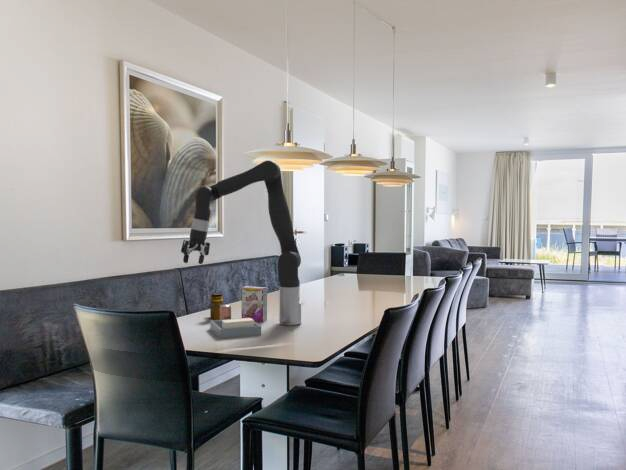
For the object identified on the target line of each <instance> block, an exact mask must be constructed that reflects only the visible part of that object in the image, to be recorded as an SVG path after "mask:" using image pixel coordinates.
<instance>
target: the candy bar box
mask: <svg viewBox="0 0 626 470" xmlns="http://www.w3.org/2000/svg"><path fill="white" fill-rule="evenodd" d="M241 318H252V319H253V320H254V322H256V323H259V322H260V323H264V322H267V321H268V287H265V286H263V287H262V286H253V285H252V286H251V285H245V286H242V287H241Z"/></svg>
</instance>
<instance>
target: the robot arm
mask: <svg viewBox="0 0 626 470" xmlns="http://www.w3.org/2000/svg"><path fill="white" fill-rule="evenodd" d="M281 173H282V171H281V168H280V165H278V164H277V162H274V161H272V160H270V159H269V160H264V161H262V162H261V163H259V164H257V165H256V166H254V167H252V168H250V169H248V170H246V171H244V172H241V173H238V174H236V175H233V176H230V177H227V178H224V179H222V180H219V181H217V182H216V184H213V185H210V186H200V187H199V188H198V189H197V191H196V193H195V210H194V215H193V219H192V223H191V228H190V233H189V240H187V239H183V241H182V245H181V249H180V253H181V254H183V261H182V262H183V263H184V264H188V262H189V257H190V254H191V253H193V252H194V251H195V252H196V251H197V252H198V253H199V256H198V264H200V265H202V264H203V263H204V259H205V257H206V256H209V253H210V248H211V247H210V246H211V244H210V242H207V241H206V240H207V236H208V231H209V226H210V225H209V224H210V217H211V209H210V204H211V202H213V201H217V200H218V199H220V198H222V197H225V196H228V195H230V194H233V193H235V192H238V191H240V190H242V189H244V188H245V187H247V186H250V185H252V184H256V183H258V182H264V185H265V187H266V192H267V200H268V201H267V205H268V206H267V209H268V214H269V218H270V219H269V220H270V223H271V227H272V229H273V231H274V233H275V235H276V237H277V239H278V242H279V247H280V252H281V254H280V255H279V256H278V259H277V279H278V282H279V283H278V284H279V288H278V289H279V295H278V296H279V298H278V299H279V301H278V302H279V304H278V305H279V310H278V311H279V315H278V316H279V320H278V321H279V323H278V324H280V325H281V326H296V325H301V324H302V303H301V302H300V297H301V296H300V287H301V286H300V285H301V283H300V282H301V281H300V278H299V267H300V266H301V263H302V258H301V255H300V252H299V248H298V246H297V243H296V240H295V236H294V229H293V223H292V217H291V212H290V209H289V206H288V201H287V199H286V195H285V193H284V189H283V180H282V174H281Z"/></svg>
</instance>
